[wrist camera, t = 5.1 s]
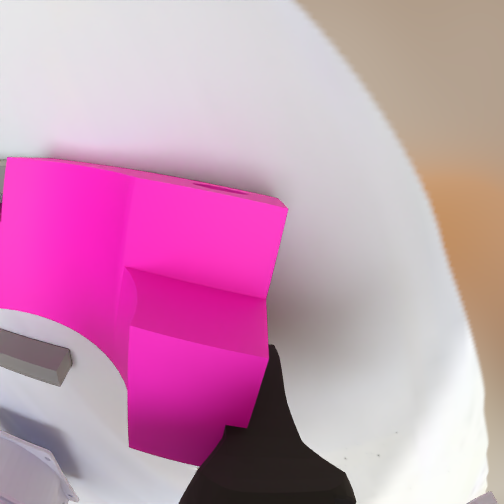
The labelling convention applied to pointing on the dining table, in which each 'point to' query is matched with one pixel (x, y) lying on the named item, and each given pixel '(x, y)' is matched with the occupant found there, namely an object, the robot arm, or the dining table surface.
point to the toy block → (149, 287)
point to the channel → (32, 347)
